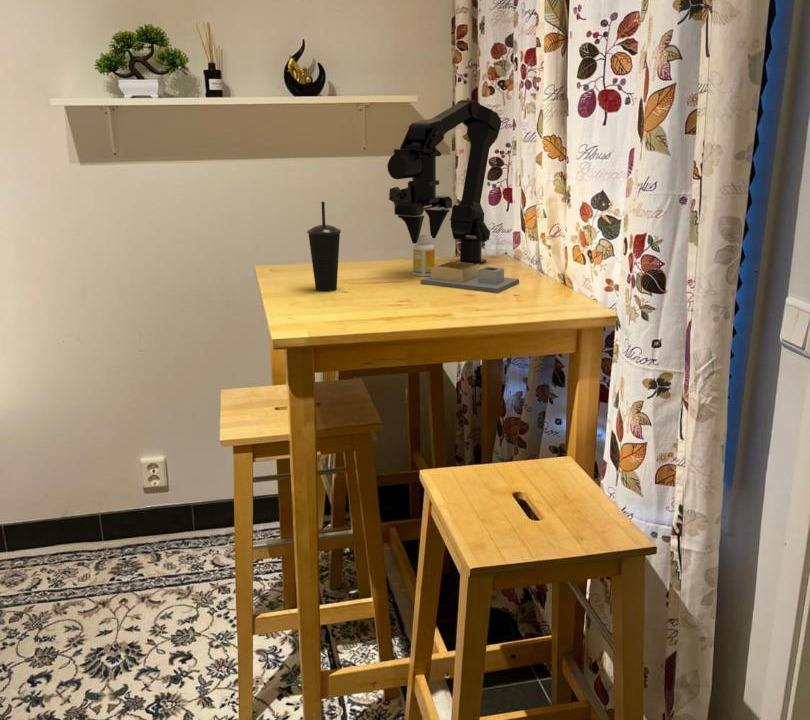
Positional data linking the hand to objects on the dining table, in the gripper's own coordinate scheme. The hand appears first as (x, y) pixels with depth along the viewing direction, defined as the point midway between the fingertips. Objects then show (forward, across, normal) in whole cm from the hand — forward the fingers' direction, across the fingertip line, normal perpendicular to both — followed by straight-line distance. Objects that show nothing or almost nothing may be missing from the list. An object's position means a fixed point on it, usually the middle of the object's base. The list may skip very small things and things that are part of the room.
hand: (424, 240), depth 195 cm
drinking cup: (+8, +26, -11) cm, 30 cm away
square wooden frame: (+8, +4, +11) cm, 15 cm away
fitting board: (+8, +4, +15) cm, 18 cm away
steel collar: (+8, +4, +20) cm, 23 cm away
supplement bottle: (+9, 0, 0) cm, 9 cm away
